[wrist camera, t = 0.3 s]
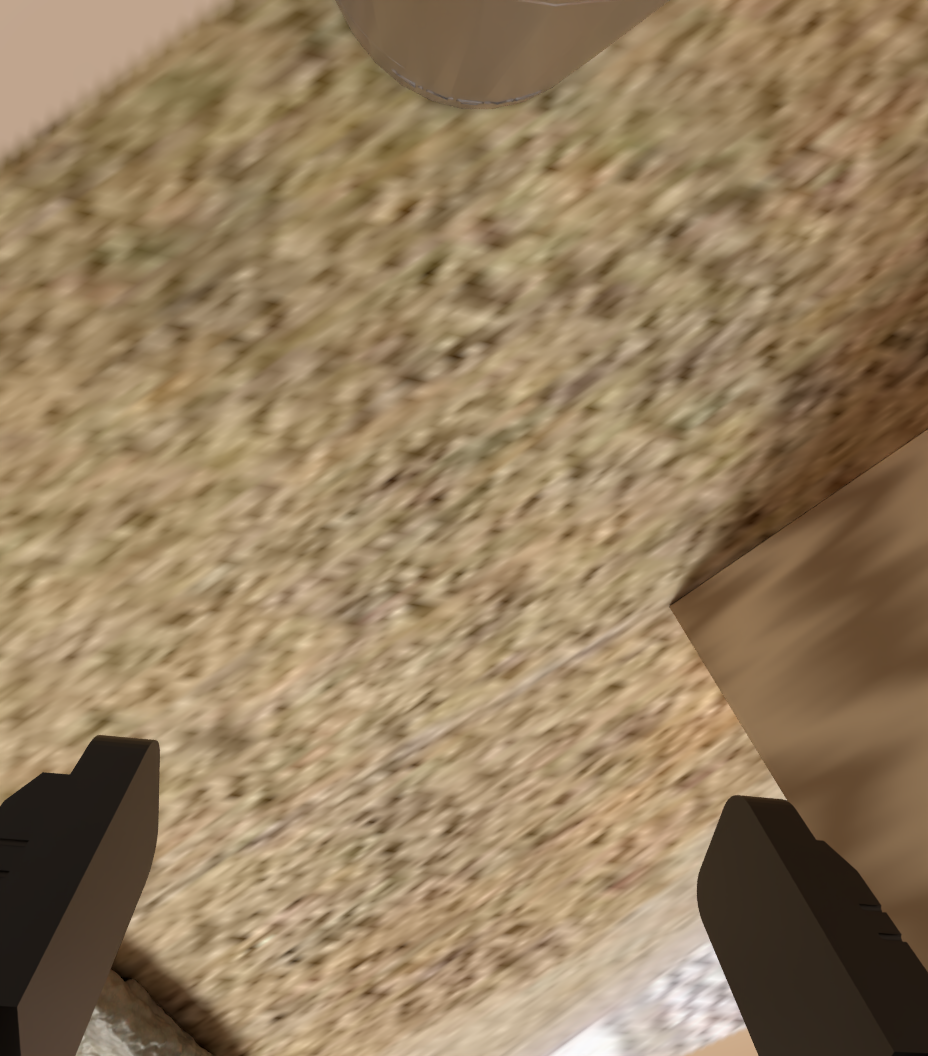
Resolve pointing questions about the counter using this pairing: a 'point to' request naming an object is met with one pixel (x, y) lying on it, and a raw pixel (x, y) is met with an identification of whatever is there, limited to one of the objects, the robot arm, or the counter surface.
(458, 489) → the counter surface
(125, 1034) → the long grey stone
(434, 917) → the counter surface
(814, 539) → the short stand
